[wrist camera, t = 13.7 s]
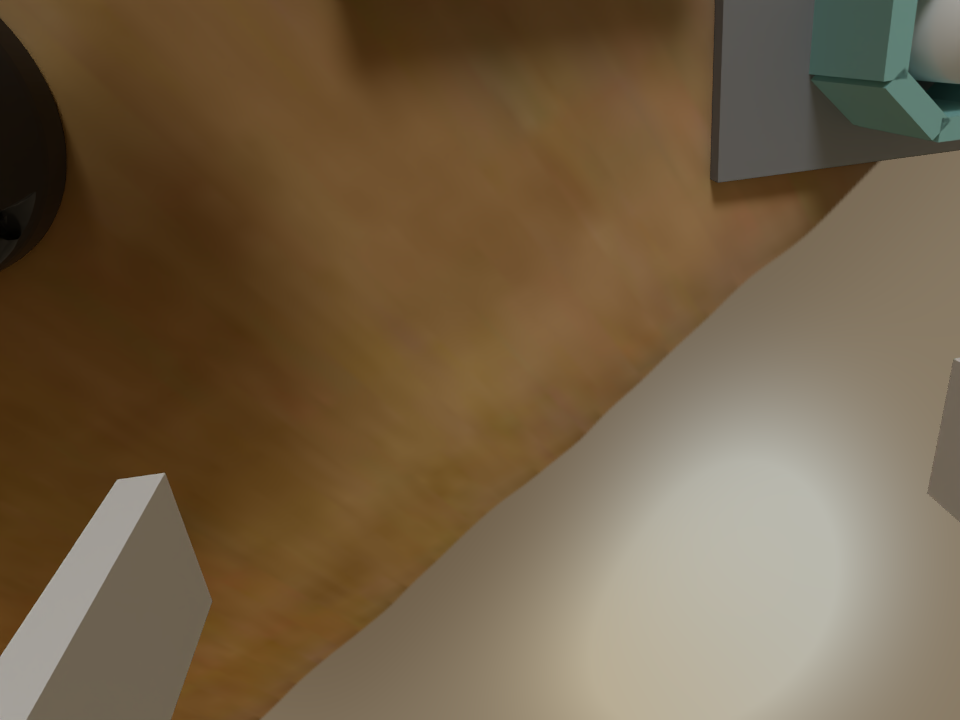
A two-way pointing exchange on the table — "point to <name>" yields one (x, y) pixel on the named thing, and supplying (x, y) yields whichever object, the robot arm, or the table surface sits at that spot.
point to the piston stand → (806, 91)
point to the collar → (878, 70)
